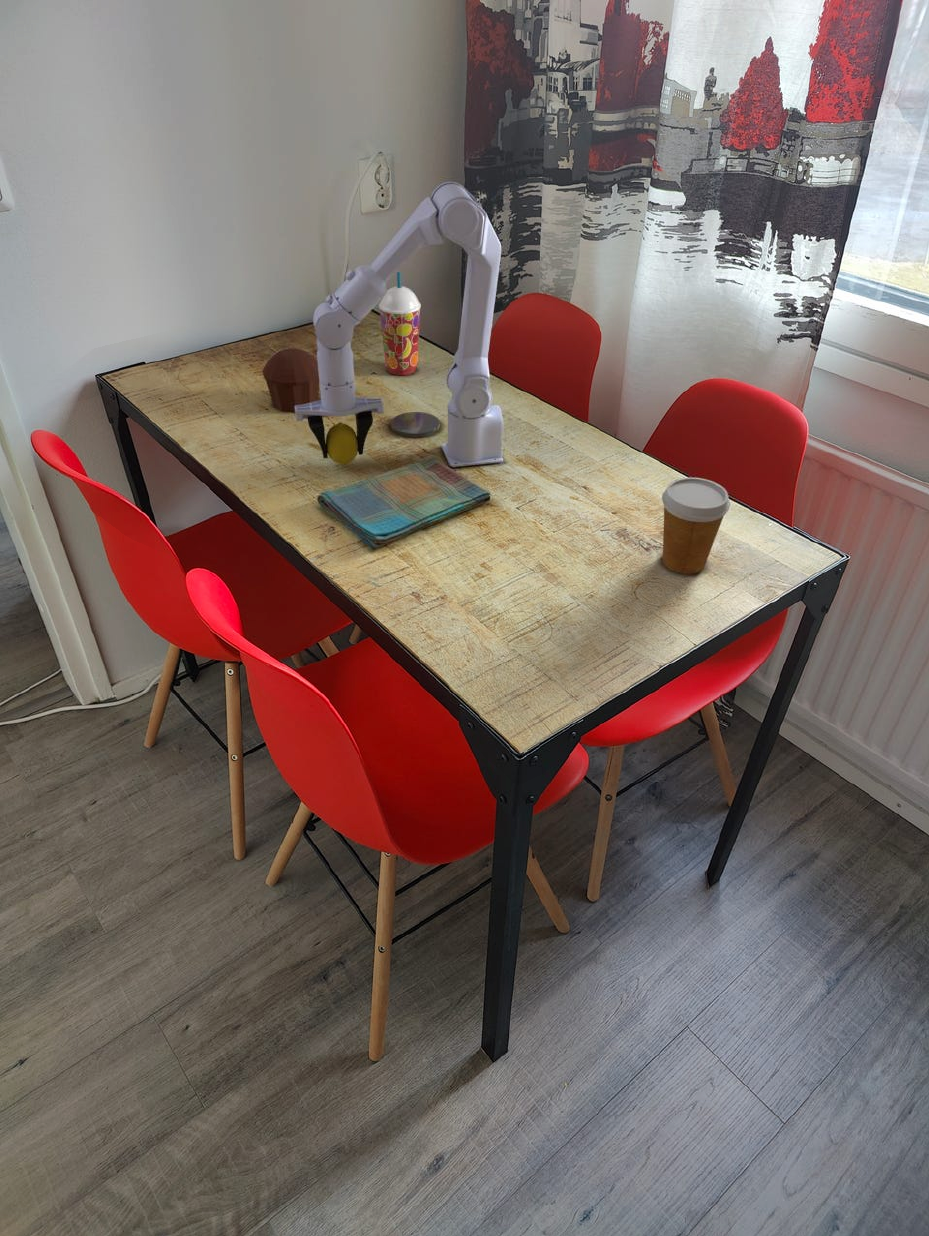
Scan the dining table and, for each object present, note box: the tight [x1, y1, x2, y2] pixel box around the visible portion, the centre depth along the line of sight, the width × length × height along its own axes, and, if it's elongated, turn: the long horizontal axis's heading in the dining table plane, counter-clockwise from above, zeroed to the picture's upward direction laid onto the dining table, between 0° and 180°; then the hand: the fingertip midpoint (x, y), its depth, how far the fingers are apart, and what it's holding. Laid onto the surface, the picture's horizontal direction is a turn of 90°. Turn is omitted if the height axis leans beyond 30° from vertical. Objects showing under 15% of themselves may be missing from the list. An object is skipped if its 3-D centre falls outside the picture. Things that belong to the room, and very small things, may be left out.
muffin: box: [262, 347, 320, 413], centre depth 173 cm, size 12×11×10 cm
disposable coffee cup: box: [661, 477, 731, 575], centre depth 131 cm, size 10×10×12 cm
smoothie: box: [378, 271, 421, 376], centre depth 182 cm, size 8×8×20 cm
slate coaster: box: [390, 411, 441, 438], centre depth 168 cm, size 9×9×1 cm
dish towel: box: [316, 456, 491, 550], centre depth 146 cm, size 17×23×2 cm
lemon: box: [325, 422, 358, 467], centre depth 154 cm, size 6×6×8 cm
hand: (342, 453), depth 155 cm, fingers closed on lemon, 5 cm apart
